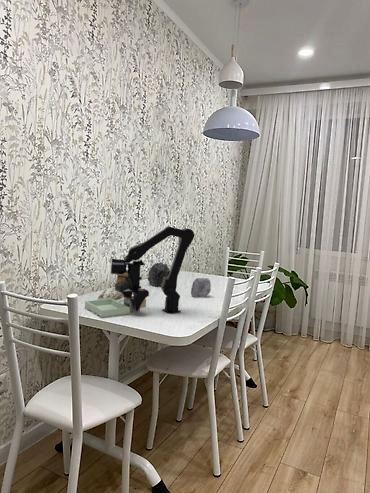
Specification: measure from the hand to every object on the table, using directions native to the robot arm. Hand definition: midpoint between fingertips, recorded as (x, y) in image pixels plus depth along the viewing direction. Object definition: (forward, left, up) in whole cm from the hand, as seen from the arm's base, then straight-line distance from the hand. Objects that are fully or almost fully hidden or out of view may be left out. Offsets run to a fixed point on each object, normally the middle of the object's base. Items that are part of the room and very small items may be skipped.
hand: (132, 308), depth 174 cm
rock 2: (+11, -50, -1) cm, 51 cm away
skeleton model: (+25, -3, -2) cm, 25 cm away
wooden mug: (+41, -20, -1) cm, 45 cm away
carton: (+6, -8, -1) cm, 10 cm away
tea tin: (0, 0, -1) cm, 1 cm away
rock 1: (+46, -45, -1) cm, 64 cm away
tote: (+4, +10, -1) cm, 11 cm away
